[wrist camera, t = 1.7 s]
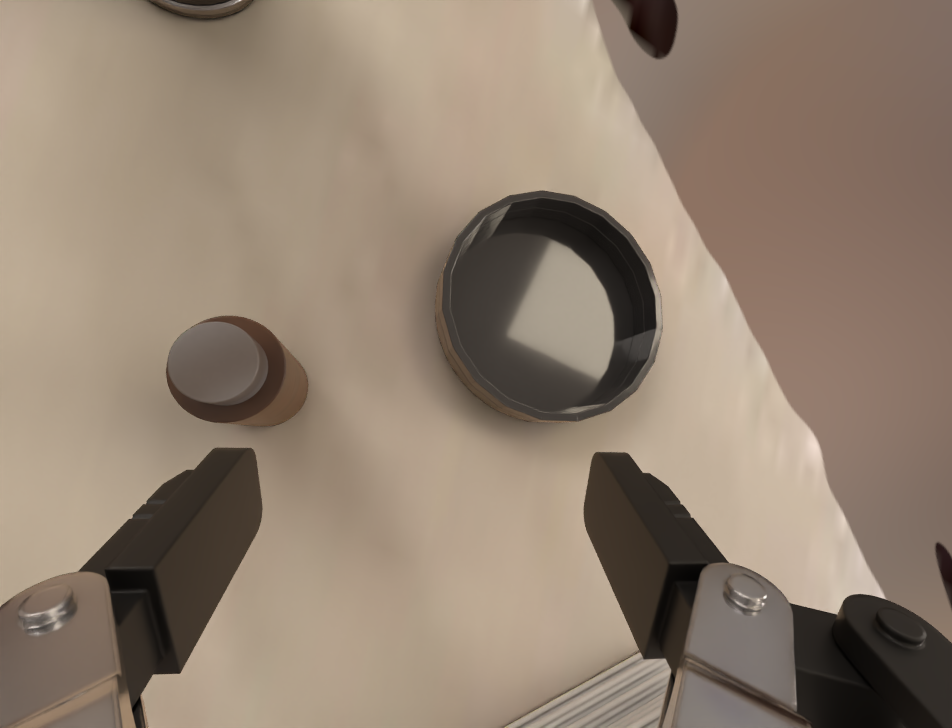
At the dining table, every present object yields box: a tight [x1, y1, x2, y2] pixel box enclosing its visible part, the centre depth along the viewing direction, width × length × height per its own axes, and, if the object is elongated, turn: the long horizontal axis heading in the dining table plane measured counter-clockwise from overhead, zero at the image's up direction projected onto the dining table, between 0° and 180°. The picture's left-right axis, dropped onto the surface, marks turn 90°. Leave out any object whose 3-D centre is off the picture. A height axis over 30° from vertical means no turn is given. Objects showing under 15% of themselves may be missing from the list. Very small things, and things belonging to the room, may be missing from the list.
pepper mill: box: [166, 316, 308, 426], centre depth 24 cm, size 5×5×11 cm
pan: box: [435, 191, 663, 423], centre depth 34 cm, size 17×17×4 cm
